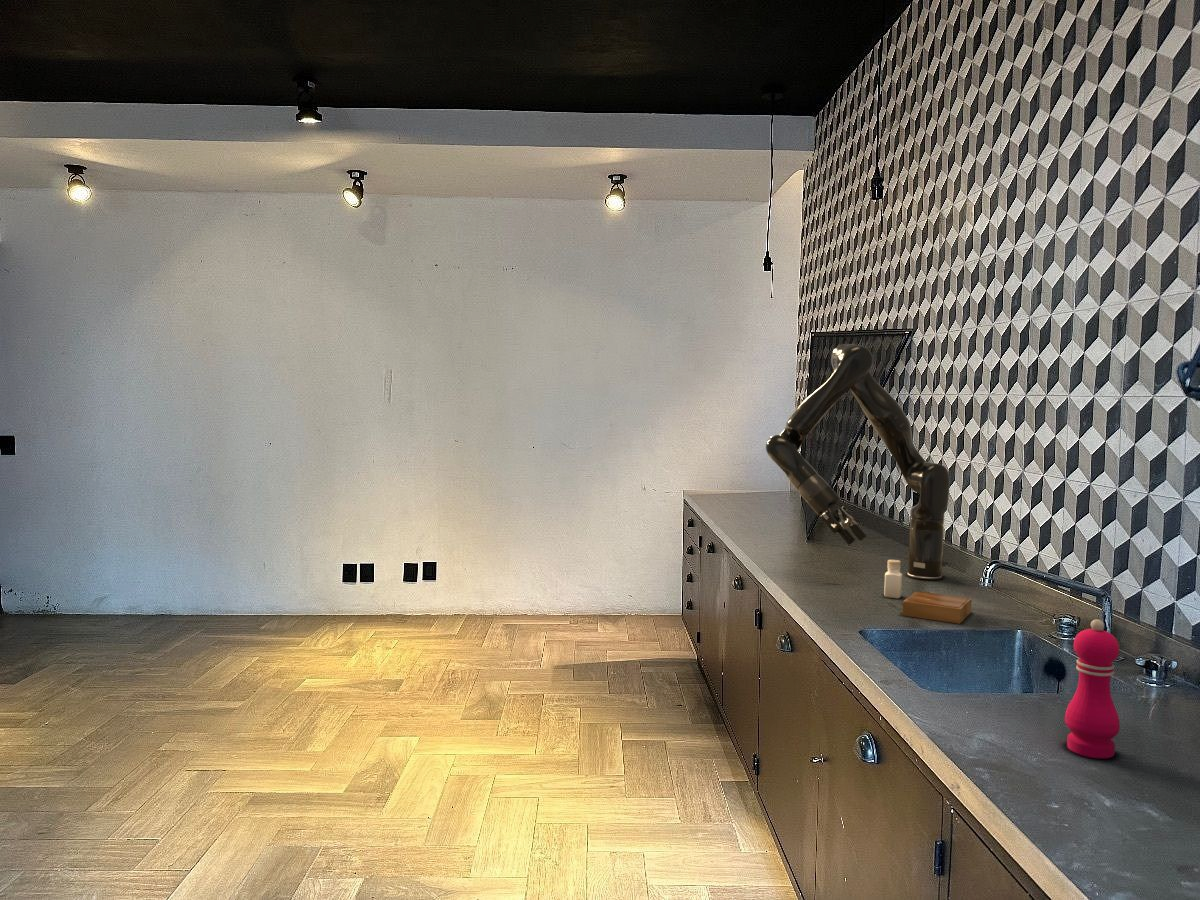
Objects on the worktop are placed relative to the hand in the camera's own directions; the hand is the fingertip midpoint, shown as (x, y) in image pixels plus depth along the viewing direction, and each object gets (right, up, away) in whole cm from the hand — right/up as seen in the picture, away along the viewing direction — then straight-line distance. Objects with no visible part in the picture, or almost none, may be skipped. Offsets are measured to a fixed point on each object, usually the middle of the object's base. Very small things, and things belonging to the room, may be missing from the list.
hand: (858, 540), depth 241 cm
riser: (+13, -15, -22) cm, 30 cm away
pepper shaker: (+8, -14, -5) cm, 17 cm away
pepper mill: (+5, -21, -105) cm, 107 cm away
